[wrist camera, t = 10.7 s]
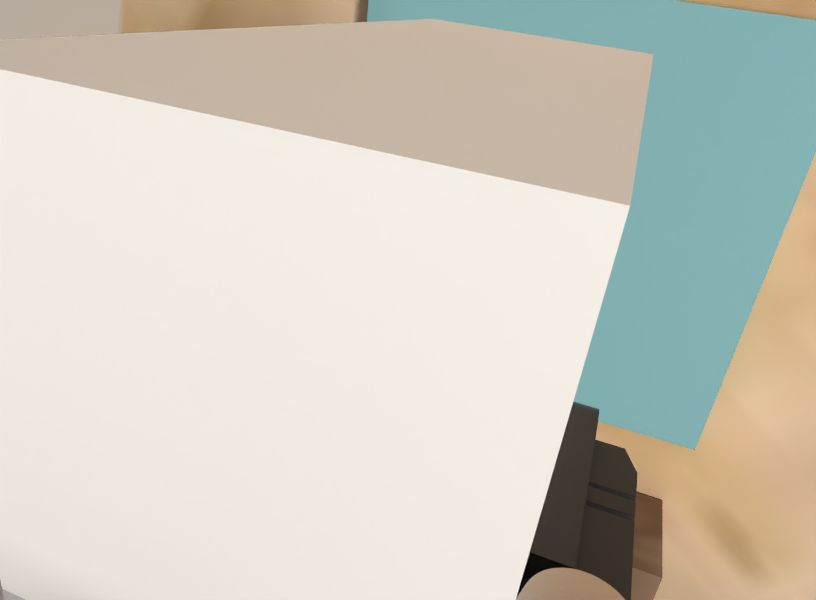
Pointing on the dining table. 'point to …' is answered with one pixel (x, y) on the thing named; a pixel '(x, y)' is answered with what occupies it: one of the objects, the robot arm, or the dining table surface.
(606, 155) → the off-white panel
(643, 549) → the walnut rack
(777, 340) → the dining table surface
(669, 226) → the teal mat
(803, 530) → the dining table surface
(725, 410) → the dining table surface
